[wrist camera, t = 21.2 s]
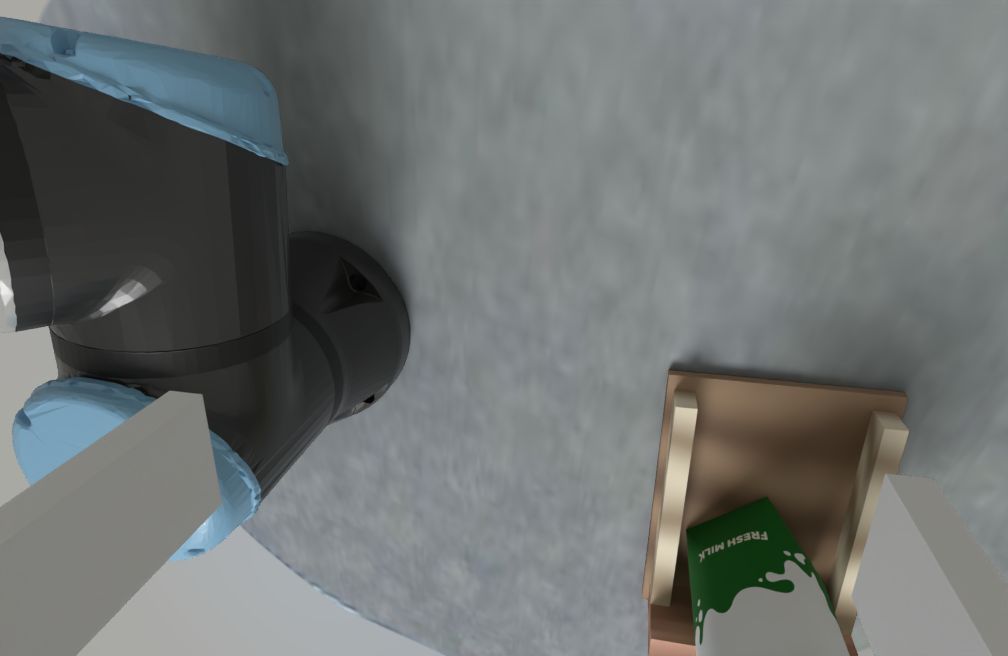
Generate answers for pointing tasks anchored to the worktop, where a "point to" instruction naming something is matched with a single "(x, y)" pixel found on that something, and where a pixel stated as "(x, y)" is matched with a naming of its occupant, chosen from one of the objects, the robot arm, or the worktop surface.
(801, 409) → the dock
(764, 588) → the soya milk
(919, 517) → the robot arm
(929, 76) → the worktop surface
